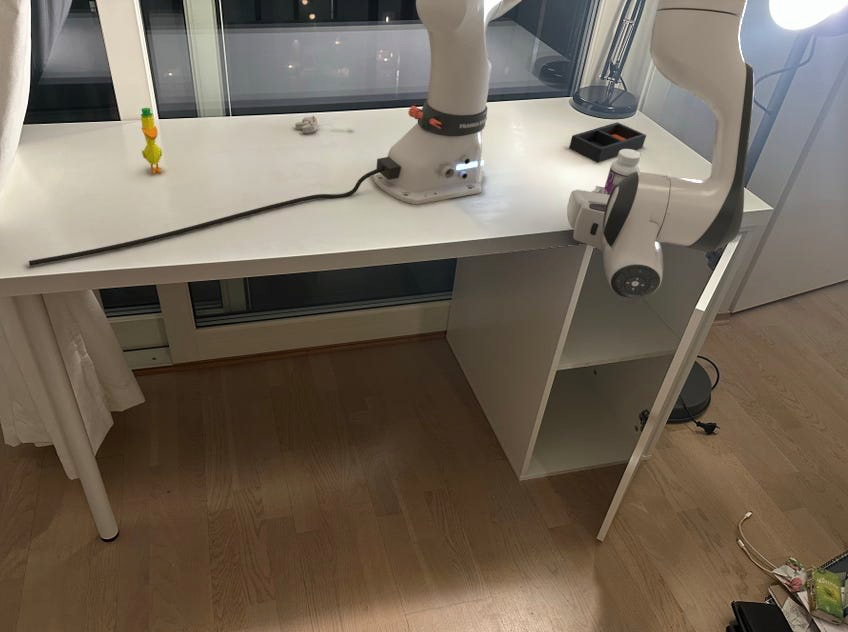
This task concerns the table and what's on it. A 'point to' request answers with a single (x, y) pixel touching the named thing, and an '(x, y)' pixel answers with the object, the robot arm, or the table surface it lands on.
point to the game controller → (308, 124)
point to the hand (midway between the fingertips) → (625, 194)
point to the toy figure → (150, 140)
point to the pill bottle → (622, 168)
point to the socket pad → (606, 141)
